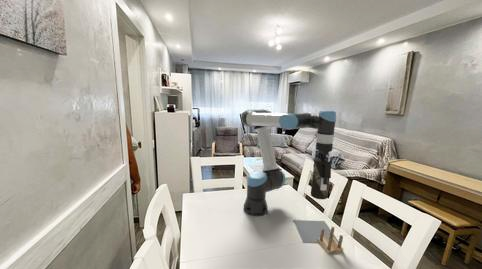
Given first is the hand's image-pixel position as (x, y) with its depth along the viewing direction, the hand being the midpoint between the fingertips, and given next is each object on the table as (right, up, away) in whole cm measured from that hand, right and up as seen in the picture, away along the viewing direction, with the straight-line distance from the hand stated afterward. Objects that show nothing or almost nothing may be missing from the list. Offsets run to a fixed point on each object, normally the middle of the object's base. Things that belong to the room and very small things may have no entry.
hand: (319, 186), depth 99 cm
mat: (-1, -25, +4) cm, 26 cm away
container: (0, -5, +1) cm, 5 cm away
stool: (+2, -27, -6) cm, 28 cm away
